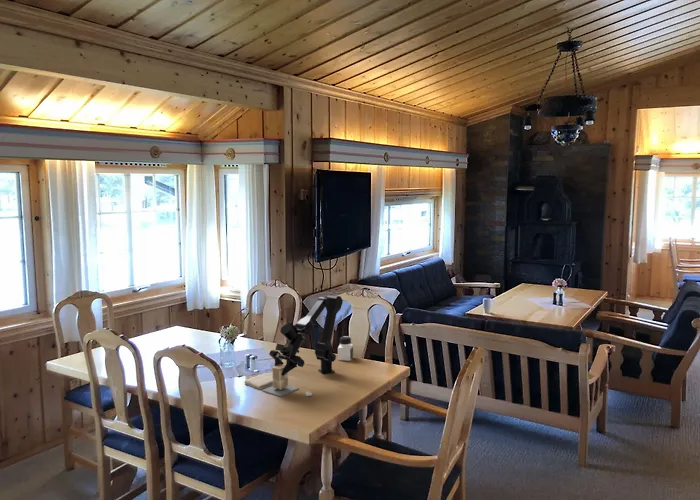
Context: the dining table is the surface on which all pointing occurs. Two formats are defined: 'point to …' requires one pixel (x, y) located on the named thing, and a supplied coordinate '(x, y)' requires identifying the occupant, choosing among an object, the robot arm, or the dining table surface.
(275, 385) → the beige tall block
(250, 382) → the washcloth
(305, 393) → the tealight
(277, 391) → the mat
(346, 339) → the medicine bottle
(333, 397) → the dining table surface
